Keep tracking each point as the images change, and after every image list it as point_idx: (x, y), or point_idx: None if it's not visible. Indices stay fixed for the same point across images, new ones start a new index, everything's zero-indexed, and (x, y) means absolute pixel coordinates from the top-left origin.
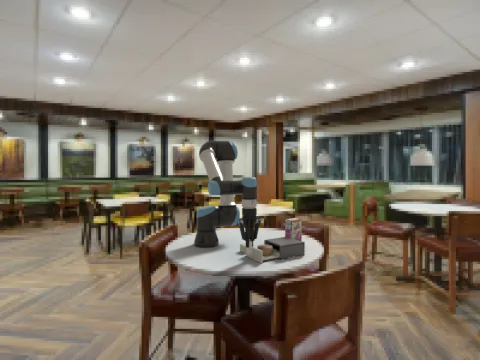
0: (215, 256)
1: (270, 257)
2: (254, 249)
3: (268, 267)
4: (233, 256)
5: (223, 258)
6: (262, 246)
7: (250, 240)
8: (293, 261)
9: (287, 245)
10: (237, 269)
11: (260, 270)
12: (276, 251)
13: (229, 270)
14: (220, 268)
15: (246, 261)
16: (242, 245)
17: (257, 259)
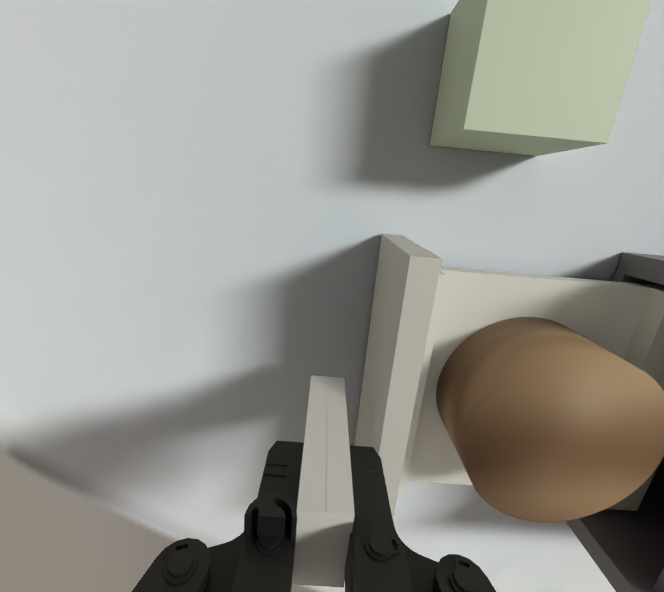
0: (57, 26)
1: (469, 484)
2: None
3: None
4: (256, 170)
5: (122, 168)
6: (548, 429)
7: (348, 551)
8: (570, 550)
9: None
10: (123, 476)
11: None
12: None
13: (59, 463)
14: (4, 397)
15: (282, 376)
16: (476, 55)
17: (357, 443)
